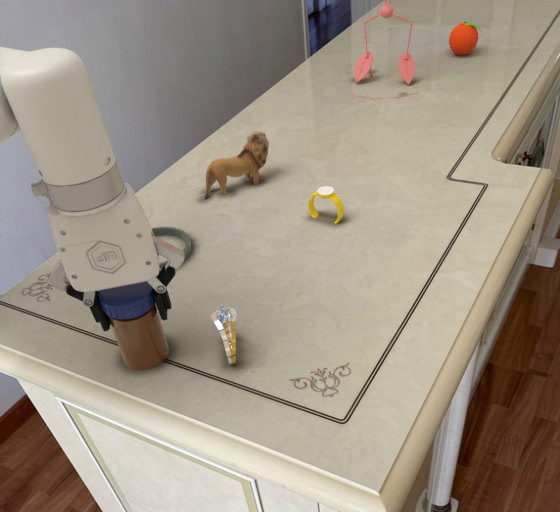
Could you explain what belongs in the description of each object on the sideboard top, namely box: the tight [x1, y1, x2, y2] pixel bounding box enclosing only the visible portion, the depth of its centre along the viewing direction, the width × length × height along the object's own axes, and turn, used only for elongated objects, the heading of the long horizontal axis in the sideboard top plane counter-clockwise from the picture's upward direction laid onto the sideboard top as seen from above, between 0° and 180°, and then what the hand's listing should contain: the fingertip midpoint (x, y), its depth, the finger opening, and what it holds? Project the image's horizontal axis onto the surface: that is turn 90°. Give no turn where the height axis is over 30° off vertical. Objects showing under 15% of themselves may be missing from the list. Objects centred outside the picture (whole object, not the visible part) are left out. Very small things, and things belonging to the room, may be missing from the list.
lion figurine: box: [203, 130, 270, 201], centre depth 105 cm, size 15×5×9 cm, turn 125°
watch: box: [307, 185, 345, 225], centre depth 95 cm, size 6×3×6 cm, turn 57°
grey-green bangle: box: [151, 226, 192, 269], centre depth 94 cm, size 11×11×2 cm
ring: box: [210, 303, 238, 365], centre depth 74 cm, size 7×3×8 cm, turn 5°
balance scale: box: [345, 0, 419, 100], centre depth 124 cm, size 15×26×35 cm, turn 65°
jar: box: [108, 303, 170, 371], centre depth 74 cm, size 6×6×11 cm
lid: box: [98, 281, 155, 319], centre depth 71 cm, size 7×7×2 cm
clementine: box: [448, 21, 483, 56], centre depth 143 cm, size 8×7×7 cm
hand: (136, 317), depth 73 cm, fingers closed on lid, 6 cm apart
